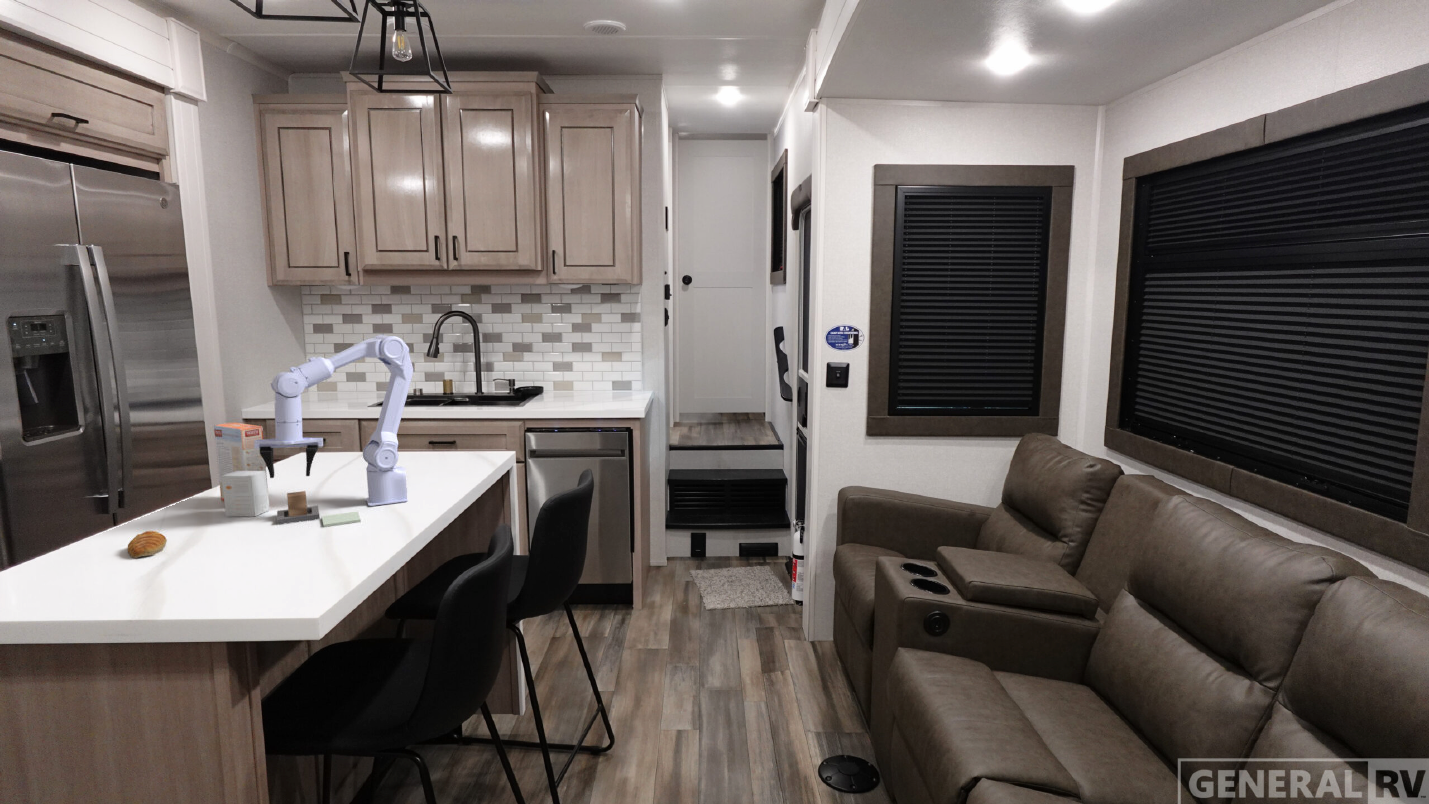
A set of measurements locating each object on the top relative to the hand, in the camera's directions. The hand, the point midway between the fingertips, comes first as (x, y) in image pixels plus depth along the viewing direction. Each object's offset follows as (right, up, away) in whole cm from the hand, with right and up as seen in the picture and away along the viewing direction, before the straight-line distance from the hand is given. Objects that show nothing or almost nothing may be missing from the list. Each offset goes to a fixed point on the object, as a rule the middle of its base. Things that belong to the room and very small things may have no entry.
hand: (290, 476), depth 183 cm
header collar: (+1, -10, +2) cm, 11 cm away
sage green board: (+13, -11, -1) cm, 17 cm away
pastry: (-18, -14, -22) cm, 32 cm away
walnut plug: (+1, -10, +2) cm, 11 cm away
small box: (-14, -10, +6) cm, 18 cm away
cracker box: (-21, -9, +16) cm, 28 cm away
